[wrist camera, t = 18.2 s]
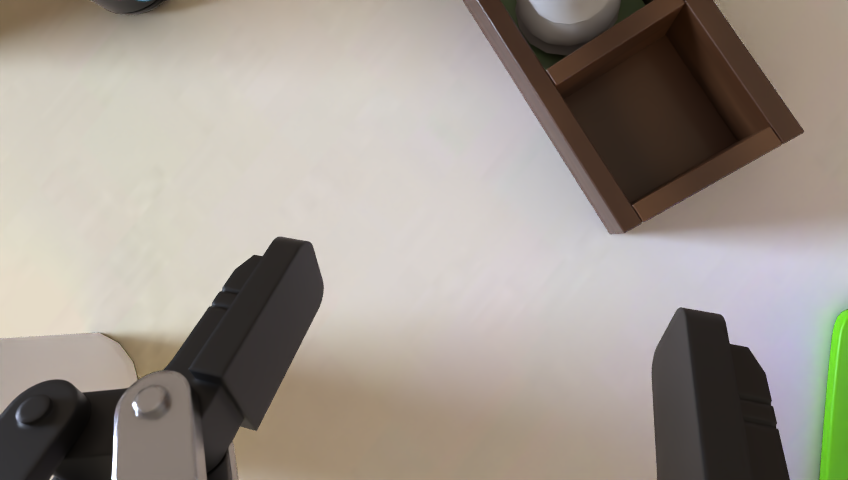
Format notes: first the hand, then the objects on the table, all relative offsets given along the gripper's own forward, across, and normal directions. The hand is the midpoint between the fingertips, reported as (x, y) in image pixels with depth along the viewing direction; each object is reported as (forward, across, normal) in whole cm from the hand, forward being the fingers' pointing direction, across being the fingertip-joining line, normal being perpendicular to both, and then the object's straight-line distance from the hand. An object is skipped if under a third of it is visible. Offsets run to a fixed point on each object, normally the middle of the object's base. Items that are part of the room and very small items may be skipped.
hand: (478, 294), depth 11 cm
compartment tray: (+17, -1, 0) cm, 17 cm away
